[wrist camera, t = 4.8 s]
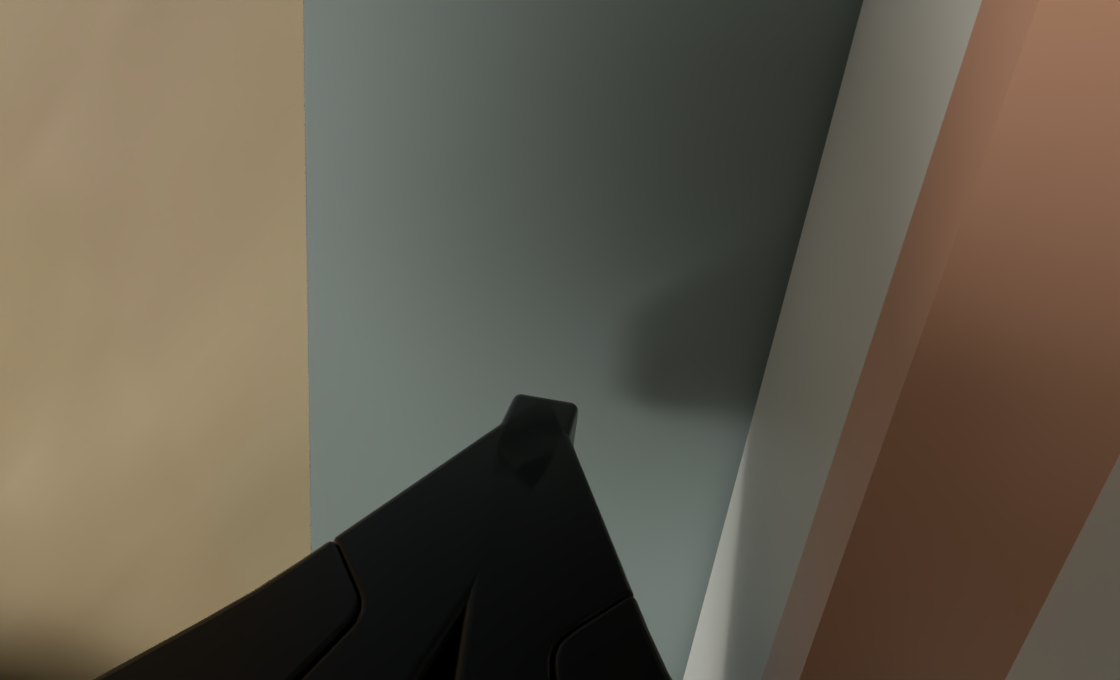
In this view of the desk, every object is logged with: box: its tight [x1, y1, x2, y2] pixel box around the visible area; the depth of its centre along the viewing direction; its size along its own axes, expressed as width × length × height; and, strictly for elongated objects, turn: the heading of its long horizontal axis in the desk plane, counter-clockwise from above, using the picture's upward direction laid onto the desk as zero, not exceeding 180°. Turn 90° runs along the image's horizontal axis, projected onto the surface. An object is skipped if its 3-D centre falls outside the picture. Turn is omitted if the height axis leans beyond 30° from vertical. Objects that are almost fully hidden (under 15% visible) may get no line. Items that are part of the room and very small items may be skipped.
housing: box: [683, 0, 1120, 680], centre depth 7 cm, size 10×4×5 cm, turn 173°
